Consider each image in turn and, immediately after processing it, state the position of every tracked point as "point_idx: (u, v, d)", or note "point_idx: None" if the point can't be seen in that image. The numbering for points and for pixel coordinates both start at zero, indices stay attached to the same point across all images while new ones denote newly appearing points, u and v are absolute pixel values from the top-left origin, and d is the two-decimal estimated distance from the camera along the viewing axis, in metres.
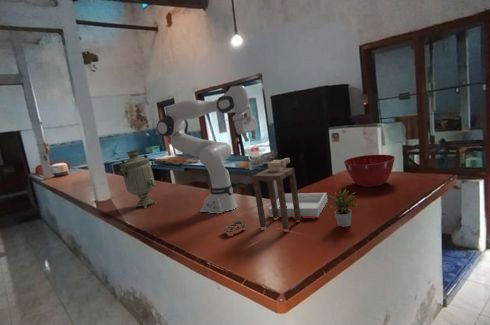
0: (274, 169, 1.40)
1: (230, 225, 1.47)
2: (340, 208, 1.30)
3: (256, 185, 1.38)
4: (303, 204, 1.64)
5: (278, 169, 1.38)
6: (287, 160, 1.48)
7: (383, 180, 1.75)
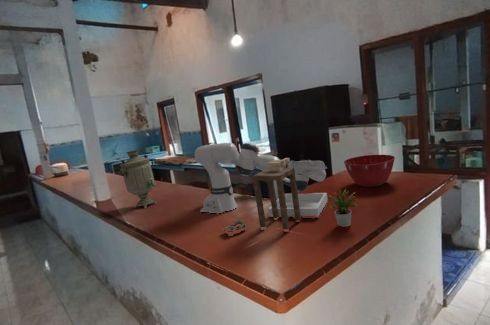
0: (274, 169, 1.40)
1: (231, 225, 1.47)
2: (340, 208, 1.30)
3: (256, 185, 1.38)
4: (303, 204, 1.64)
5: (278, 169, 1.38)
6: (287, 160, 1.48)
7: (383, 180, 1.75)
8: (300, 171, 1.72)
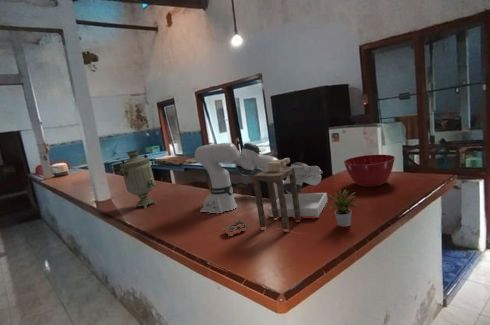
0: (274, 169, 1.40)
1: (231, 225, 1.47)
2: (340, 208, 1.30)
3: (256, 185, 1.38)
4: (303, 204, 1.64)
5: (278, 169, 1.38)
6: (287, 160, 1.48)
7: (383, 180, 1.75)
8: (295, 176, 1.65)
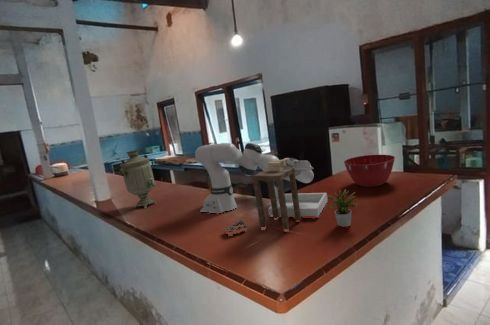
0: (274, 169, 1.40)
1: (232, 225, 1.47)
2: (340, 208, 1.30)
3: (256, 185, 1.38)
4: (303, 204, 1.64)
5: (278, 169, 1.38)
6: None
7: (383, 180, 1.75)
8: None
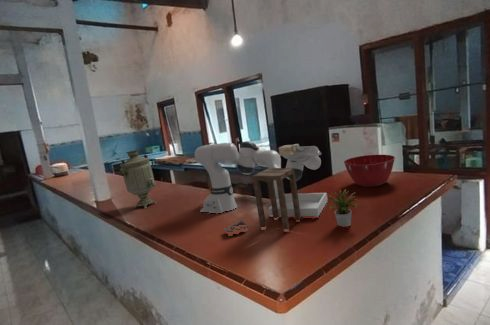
0: (285, 153, 1.47)
1: (233, 225, 1.47)
2: (340, 208, 1.30)
3: (256, 185, 1.38)
4: (303, 204, 1.64)
5: (289, 153, 1.46)
6: None
7: (383, 180, 1.75)
8: (293, 158, 1.64)
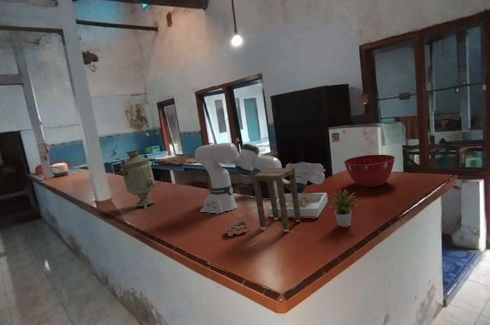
0: None
1: (234, 225, 1.47)
2: (340, 208, 1.30)
3: (256, 185, 1.38)
4: None
5: None
6: (306, 199, 1.65)
7: (383, 180, 1.75)
8: (298, 174, 1.70)
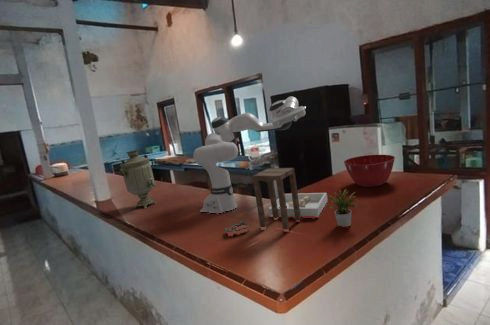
0: None
1: (235, 225, 1.47)
2: (340, 208, 1.30)
3: (256, 185, 1.38)
4: None
5: None
6: (306, 199, 1.65)
7: (383, 180, 1.75)
8: None
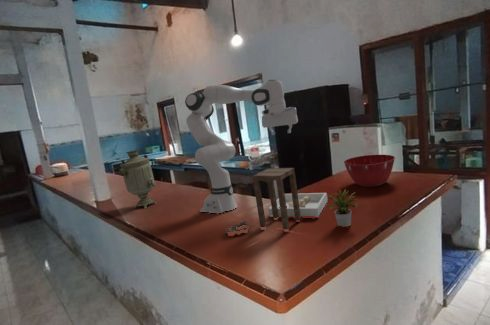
0: None
1: (235, 225, 1.46)
2: (340, 208, 1.30)
3: (256, 185, 1.38)
4: None
5: None
6: (306, 199, 1.65)
7: (383, 180, 1.75)
8: None
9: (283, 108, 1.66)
